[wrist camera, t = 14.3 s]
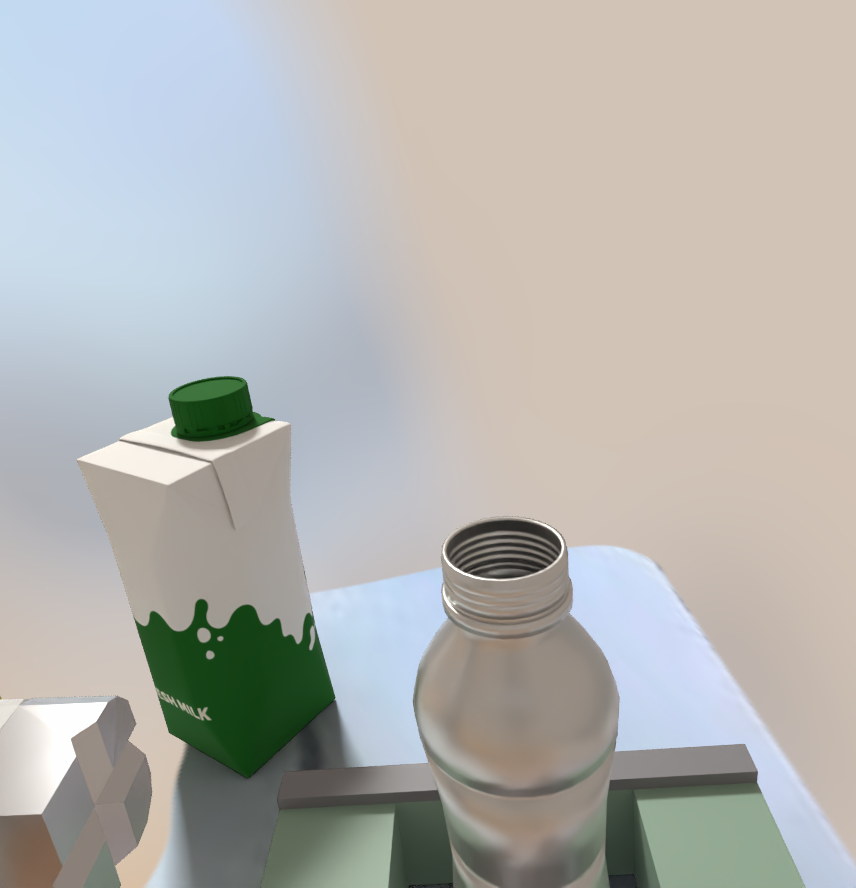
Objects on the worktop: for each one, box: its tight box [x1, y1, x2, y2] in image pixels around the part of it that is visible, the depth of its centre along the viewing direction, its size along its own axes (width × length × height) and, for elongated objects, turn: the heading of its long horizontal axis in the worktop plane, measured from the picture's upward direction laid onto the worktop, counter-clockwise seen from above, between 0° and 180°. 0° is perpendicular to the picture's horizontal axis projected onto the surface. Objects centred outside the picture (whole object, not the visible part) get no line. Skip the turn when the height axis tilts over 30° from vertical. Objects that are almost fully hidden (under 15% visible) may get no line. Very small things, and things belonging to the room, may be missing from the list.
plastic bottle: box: [413, 516, 620, 888], centre depth 26 cm, size 6×7×20 cm
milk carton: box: [77, 376, 335, 778], centre depth 42 cm, size 9×9×20 cm
